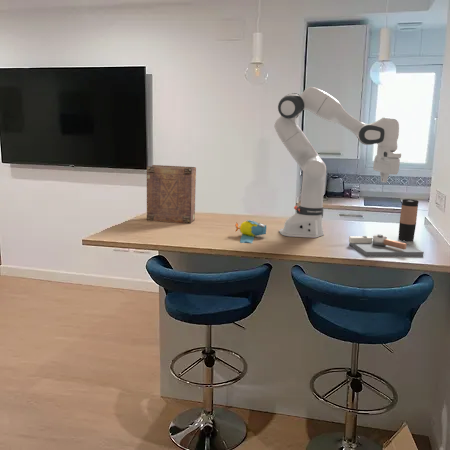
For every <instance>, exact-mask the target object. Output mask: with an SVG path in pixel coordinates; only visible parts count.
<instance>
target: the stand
mask: <svg viewBox="0 0 450 450" xmlns="http://www.w3.org/2000/svg"><path fill="white" fill-rule="evenodd" d="M396 241H397V242H402V243H406V244H407V245H406V249H404V250H403V249H399V248H395V247H392V246H388V245H386V246H376V245H373V244H372V243H373V236H367V235H364V236H361V235H360V236H359V235H357V236H356V235H355V236H353V235H352V236H351V235H350V236H349V237H348V244H349V246H350V247H352V248H353V249H355V250H356V251H358V252H359V253H361V254H362V256H365V257H398V258H399V257H401V258H402V257H410V258H411V257H414V258H415V257H416V258H417V257H424V251H422V250H421V249H418V248H417V247H415V246H413V245H411V244H409V243H408V242H406V241H401V240H396Z"/></svg>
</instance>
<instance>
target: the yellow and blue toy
mask: <svg viewBox="0 0 450 450" xmlns="http://www.w3.org/2000/svg"><path fill="white" fill-rule="evenodd" d="M234 226H235V233H236V232H237V231H238V230H239V231H240V233H241V237H240V241H239V243H241V244H253V242H254V239H255V237H257V236H262V235H267V224H264V223H261V222H257V221H255V220H250V219H246V221H243V222H241V224H240V225H239V224H238V222H235V225H234Z"/></svg>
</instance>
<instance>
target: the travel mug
mask: <svg viewBox="0 0 450 450" xmlns="http://www.w3.org/2000/svg"><path fill="white" fill-rule="evenodd" d="M418 208H419V200H417V199H410V198H405V199H402V200H401V208H400V210H401V211H400V216H399V227H398V237H397V239H398V241H404V242H406V243H408V242H411V243H412V242H414V238H415V234H416V233H415V232H416V228H417V227H416V225H417V218H418V210H419V209H418Z"/></svg>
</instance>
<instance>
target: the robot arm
mask: <svg viewBox="0 0 450 450" xmlns="http://www.w3.org/2000/svg"><path fill="white" fill-rule="evenodd" d="M277 109H278V110H277V111H278V113H279V114H280V117H278V118H277V119H276V120H275V122H274V129H275V132H276V133H277V136H278V138H279V139H280V141H281V142H282V144H283V145H284V146H285V148H286V149H287V151H288V153H289V154H290V155H291V157H292V158H293V160H294V161H295V162H296V163H297V165H298V167H299V168H300V169H301V170H302V184H301V195H300V205H294V206H293V209H294V210H295V211H296V213H294V214H293V215H291V216H290V217H288V218H287V219H286V220H285V222H284V225H283V228H280V229H279V230H278V231H279V234H280V235H282V236H284V237H293V238H295V237H296V238H318V237H321V236H322V237H323V236H324V235H325V234H324V228H323V217H324V207H323V206H324V205H323V204H324V203H323V202H324V194H325V193H324V192H325V186H326V185H325V184H326V176H327V166H326V165H327V164H326V163H325V161H323V159H322V158H321V157H320V155H319V154H318V152H317V151H316V149H315V148H314V146H313V145H312V143H311V142H310V140H309V138H308V137H307V136H306V134H305V133H304V132H303V130H302V129H301V127H300V126H299V124H298V122H297V118H298V117H299V115H301V113H302V112H303V111H305V110H306V111H310V112H311V113H313V114H314V115H316V116H317V117H318V118H321V119H322V120H324V121H328V122H332V123H334V124H338V125H340V126H342V127H344V128H345V129H347V130H348V131H350V132H351V133H353V134H354V136H356V138H357V139H358V141H359V142H360V143H361V144H362V145H365V146H372V145H375V144H376V145H377V150H376V155H375V157H374V159H373V166H372V169H373V171H376V172H380V174H379V175H380V182H381V183H388V179H389V177H390V175H398V173H399V170H400V164H401V162H400V159H401V158H402V153H401V152H400V151H399V150H398V139H399V134H400V124H399V121H398V120H397V119H395V118H391V117H388V116H387V117H386V116H385V117H384V116H383V117H382V118H380V119H378V120H377V121H374V122H371V123H364V122H362V121H360V120H359V119H357V118H355V116H352V115H351V114H349V112H347V110H345V109H344V107H343V105H342V104H341V103H340V102H339V100H337V99H336V98H335V97H334V96H332V95H331V94H329V93H328V92H326V91H324V90H322V89H320V88H317V87H314V86H308V87H307V88H305V89H304V90H303V91H302V93H301V94H299V93H295V92H294V93H293V92H292V93H288V94H286V95H284V96H283V97H282V98H281V99H280V100H279V101H278V105H277Z"/></svg>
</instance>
